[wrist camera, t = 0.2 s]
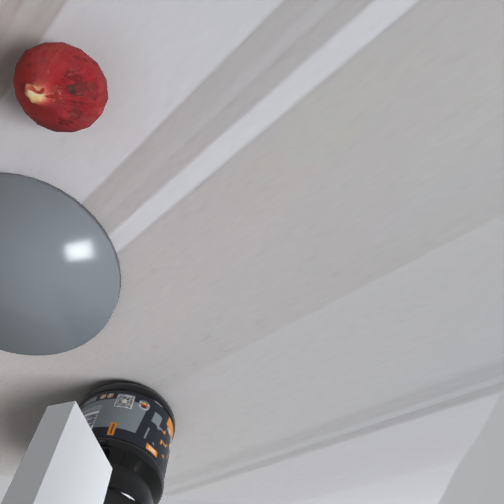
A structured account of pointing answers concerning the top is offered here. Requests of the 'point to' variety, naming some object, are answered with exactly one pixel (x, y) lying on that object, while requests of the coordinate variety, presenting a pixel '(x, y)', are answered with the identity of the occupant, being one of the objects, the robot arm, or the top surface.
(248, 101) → the top surface
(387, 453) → the top surface
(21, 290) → the slate plate
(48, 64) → the red pomegranate
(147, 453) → the supplement container
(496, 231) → the top surface
